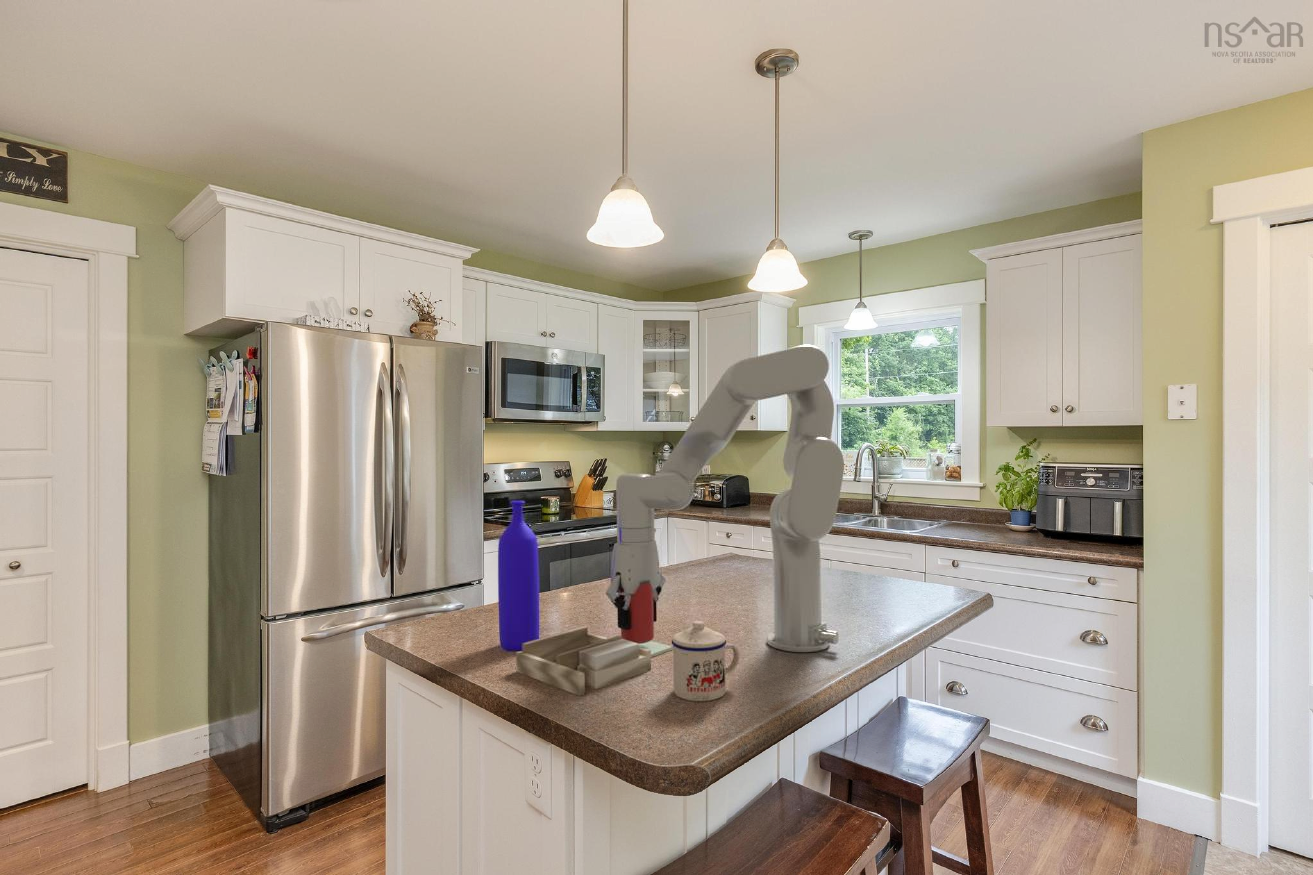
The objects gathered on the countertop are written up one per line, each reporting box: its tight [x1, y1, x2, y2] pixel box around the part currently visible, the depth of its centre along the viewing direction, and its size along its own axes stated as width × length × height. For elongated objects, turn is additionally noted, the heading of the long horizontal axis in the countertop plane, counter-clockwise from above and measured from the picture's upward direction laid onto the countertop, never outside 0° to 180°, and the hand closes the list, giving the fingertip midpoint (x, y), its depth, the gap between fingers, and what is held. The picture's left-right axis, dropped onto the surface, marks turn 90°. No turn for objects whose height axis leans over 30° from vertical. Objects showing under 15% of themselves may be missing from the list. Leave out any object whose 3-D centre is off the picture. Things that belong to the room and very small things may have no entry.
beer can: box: [620, 580, 655, 644], centre depth 133 cm, size 7×7×12 cm
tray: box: [515, 625, 652, 697], centre depth 122 cm, size 18×17×5 cm
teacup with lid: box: [671, 620, 740, 702], centre depth 111 cm, size 12×9×12 cm
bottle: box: [497, 500, 540, 652], centre depth 138 cm, size 8×8×30 cm
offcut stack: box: [577, 639, 648, 690], centre depth 119 cm, size 5×12×6 cm, turn 134°
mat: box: [639, 640, 673, 658], centre depth 133 cm, size 10×10×1 cm
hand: (637, 623), depth 133 cm, fingers closed on beer can, 6 cm apart
